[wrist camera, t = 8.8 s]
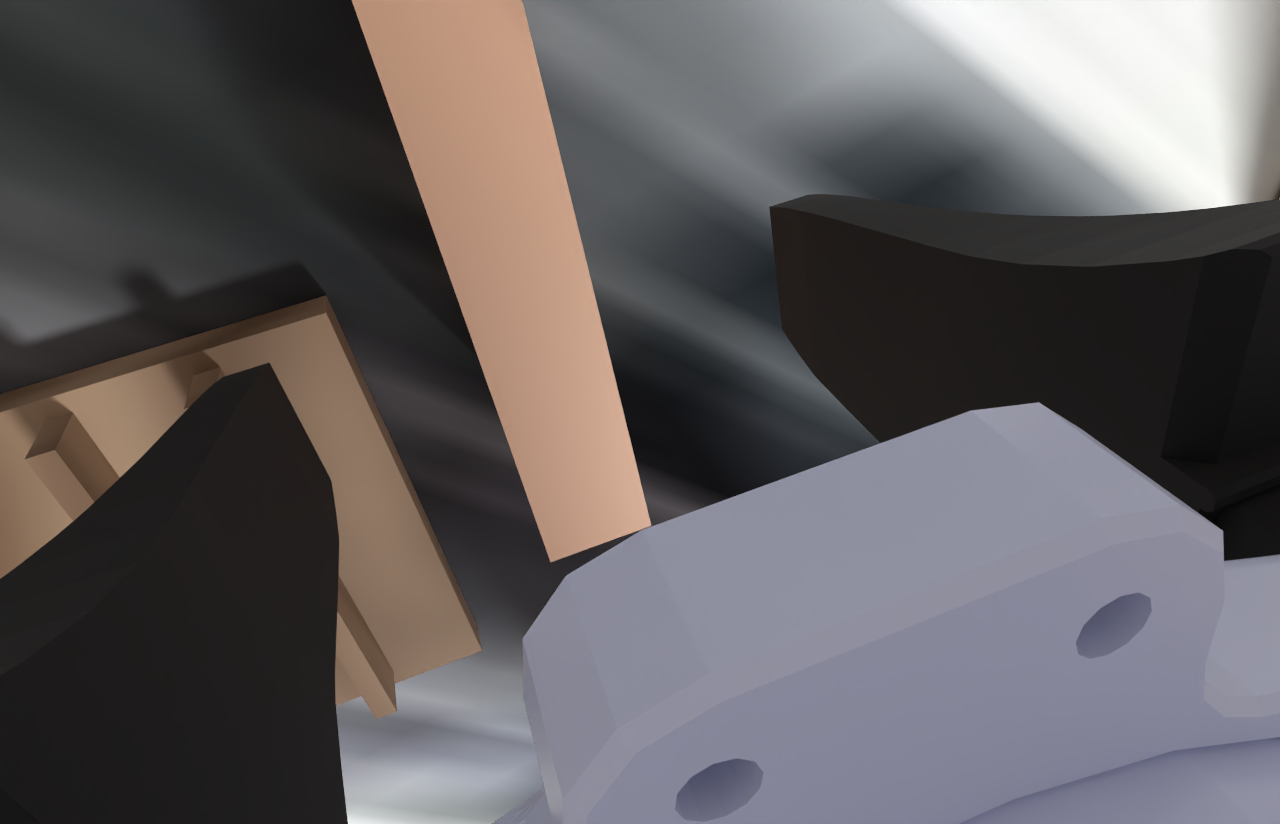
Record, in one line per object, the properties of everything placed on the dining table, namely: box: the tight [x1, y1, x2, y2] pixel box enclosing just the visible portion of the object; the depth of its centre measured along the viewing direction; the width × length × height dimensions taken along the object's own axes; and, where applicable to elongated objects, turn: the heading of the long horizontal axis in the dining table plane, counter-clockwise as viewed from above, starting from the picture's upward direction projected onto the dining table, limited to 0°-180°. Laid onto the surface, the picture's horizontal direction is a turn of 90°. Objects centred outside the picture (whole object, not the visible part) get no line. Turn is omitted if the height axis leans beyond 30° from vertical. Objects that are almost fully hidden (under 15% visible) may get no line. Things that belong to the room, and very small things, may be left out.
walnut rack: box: [0, 296, 482, 719], centre depth 21 cm, size 19×12×2 cm, turn 101°
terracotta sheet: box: [352, 0, 651, 562], centre depth 16 cm, size 2×10×8 cm, turn 11°
